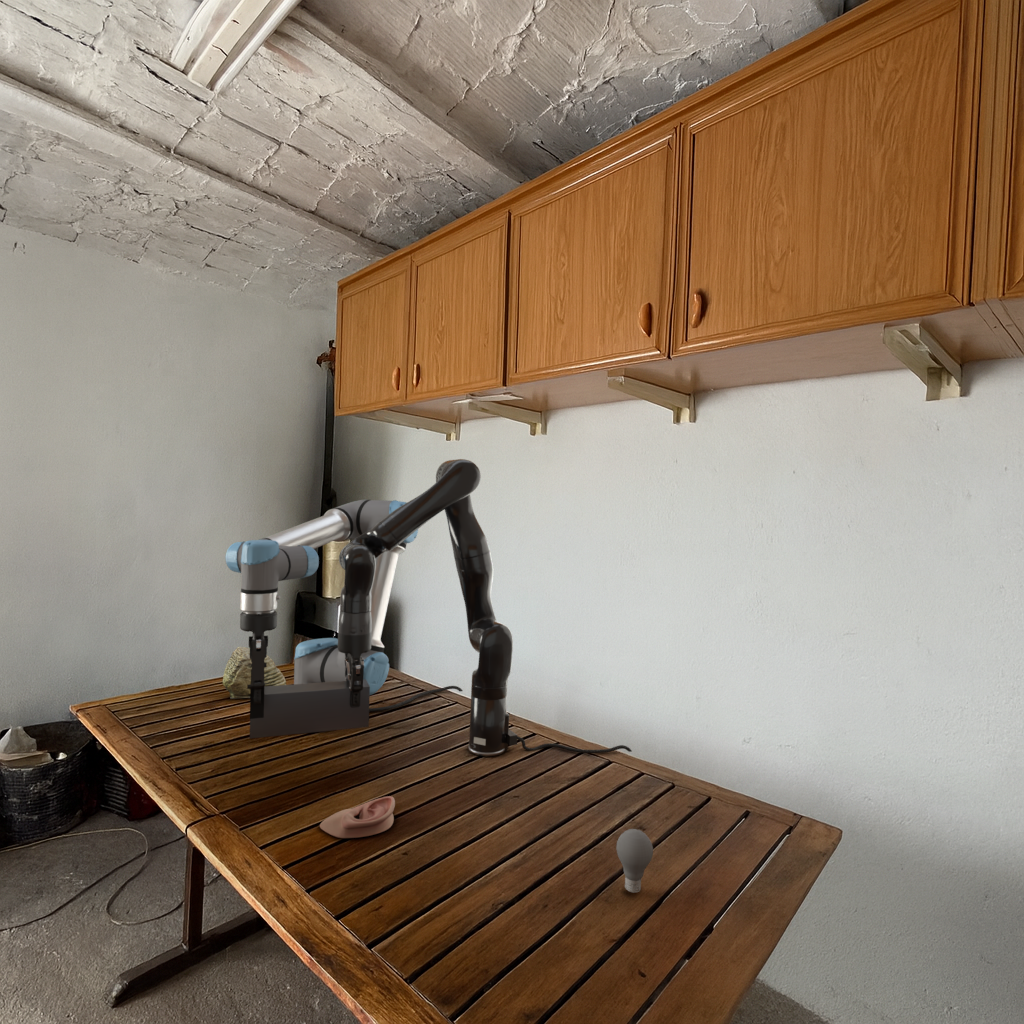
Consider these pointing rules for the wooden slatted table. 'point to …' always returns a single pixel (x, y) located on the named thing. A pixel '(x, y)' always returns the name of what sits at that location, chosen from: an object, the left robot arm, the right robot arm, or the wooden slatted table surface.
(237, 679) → the fossil
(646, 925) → the wooden slatted table surface
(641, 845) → the light bulb
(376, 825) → the anatomical model
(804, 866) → the wooden slatted table surface
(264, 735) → the box
